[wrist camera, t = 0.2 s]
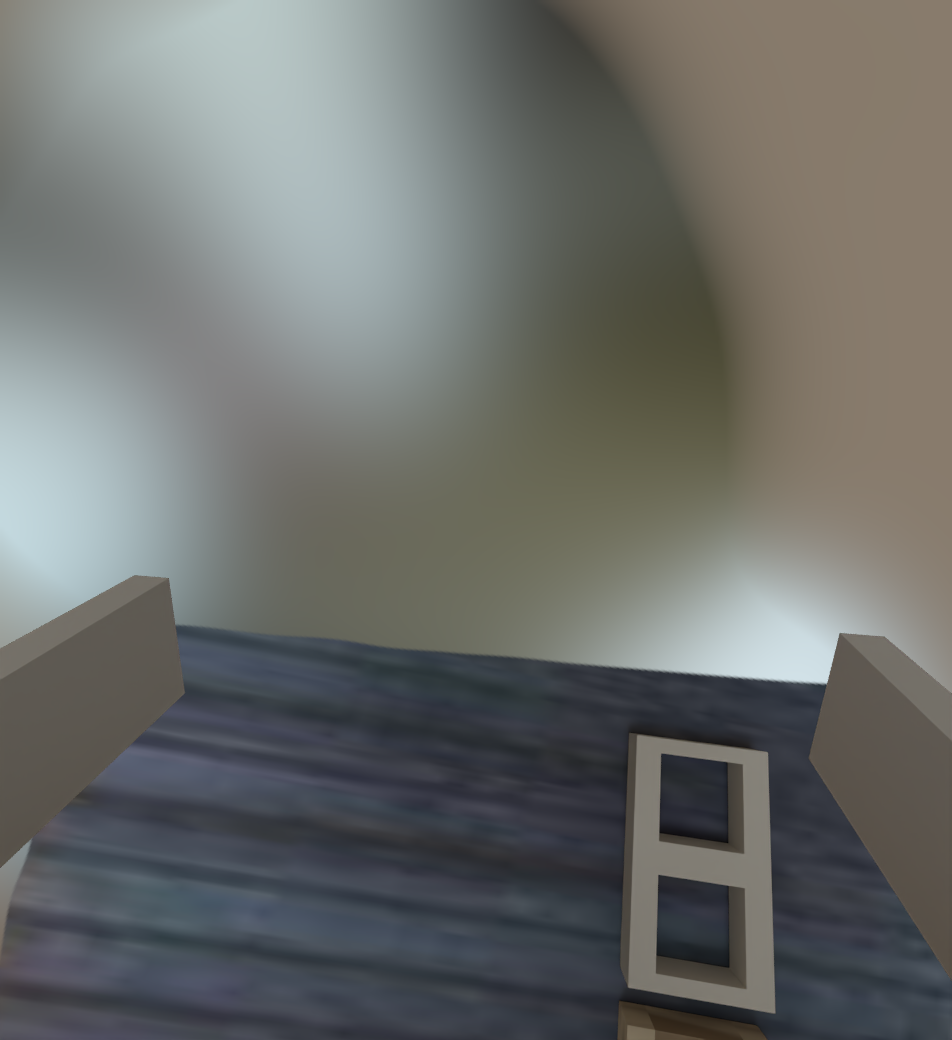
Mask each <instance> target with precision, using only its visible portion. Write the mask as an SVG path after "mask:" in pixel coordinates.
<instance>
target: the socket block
mask: <svg viewBox="0 0 952 1040" xmlns="http://www.w3.org/2000/svg"><path fill="white" fill-rule="evenodd" d="M618 1040H767V1038H766V1037H765V1036H764V1034H763V1033H762V1032H761V1030H760V1029H759V1027H758V1026H757V1025H751V1024H746V1023H740V1022H734V1021H729V1020H723V1019H718V1018H712V1017H707V1016H701V1015H696V1014H690V1013H685V1012H679V1011H673V1010H668V1009H662V1008H657V1007H651V1006H646V1005H640V1004H635V1003H629V1002H624V1001H619V1015H618Z"/></svg>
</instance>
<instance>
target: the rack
mask: <svg viewBox="0 0 952 1040" xmlns="http://www.w3.org/2000/svg"><path fill="white" fill-rule="evenodd" d="M661 753H663V754H671V755H678V756H685V757H693V758H700V759H707V760H715V761H722V762H728V843H723V842H716V841H710V840H703V839H696V838H689V837H683V836H676V835H669V834H663V833H659V818H660V776H661ZM658 875H664V876H670V877H677V878H683V879H689V880H696V881H702V882H708V883H715V884H721V885H728V886H729V968H727V967H721V966H715V965H709V964H703V963H697V962H692V961H686V960H680V959H674V958H668V957H662V956H657V955H656V945H657V903H658ZM620 968H621V971H622V973H623V976H624V978H625V981H626V983H627V986H628V988H633V989H639V990H645V991H650V992H656V993H662V994H667V995H673V996H678V997H684V998H690V999H695V1000H701V1001H707V1002H712V1003H718V1004H723V1005H729V1006H735V1007H740V1008H746V1009H752V1010H757V1011H763V1012H768V1013H774V1014H775V984H774V949H773V915H772V880H771V845H770V810H769V775H768V752H764V751H759V750H754V749H748V748H741V747H733V746H726V745H718V744H711V743H703V742H695V741H688V740H680V739H673V738H665V737H658V736H650V735H643V734H635V733H629V749H628V774H627V800H626V825H625V850H624V875H623V900H622V925H621V951H620Z"/></svg>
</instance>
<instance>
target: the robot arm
mask: <svg viewBox="0 0 952 1040" xmlns="http://www.w3.org/2000/svg"><path fill="white" fill-rule="evenodd" d="M173 613H174V612H173V606H172V598H171V591H170V584H169V578H161V577H148V576H137V575H135V576H132V577H131V578H129V579H127V580H125V581H123V582H121V583H120V584H118V585H116V586H114V587H112V588H110V589H109V590H107V591H105V592H103V593H101V594H99V595H98V596H96V597H94V598H92V599H90V600H88V601H87V602H85V603H83V604H81V605H79V606H78V607H76V608H74V609H72V610H70V611H68V612H66V613H65V614H63V615H61V616H59V617H57V618H55V619H54V620H52V621H50V622H48V623H46V624H44V625H43V626H41V627H39V628H38V629H36V630H33V631H32V632H30V633H28V634H26V635H24V636H23V637H21V638H19V639H17V640H15V641H13V642H11V643H10V644H8V645H6V646H4V647H2V648H1V649H0V868H1V867H2V866H3V865H4V864H5V863H6V862H7V861H8V860H9V859H10V858H11V857H12V856H13V855H14V854H16V852H17V851H19V850H20V849H21V848H22V847H23V845H25V844H26V843H27V842H28V841H29V840H30V839H31V838H32V837H33V836H35V835H36V834H37V833H38V832H39V831H40V830H41V829H42V828H43V827H44V826H45V825H46V824H47V823H48V822H49V821H50V820H51V819H52V818H53V817H55V816H56V815H57V814H58V813H59V812H60V811H61V810H62V809H63V808H64V807H65V806H66V805H67V804H68V803H69V802H70V801H71V800H72V799H74V798H75V797H76V796H77V795H78V794H79V793H80V792H81V791H82V790H83V789H84V788H85V787H86V786H87V785H88V784H89V783H90V782H91V781H93V780H94V779H95V778H96V777H97V776H98V775H99V774H100V773H101V772H102V771H103V770H104V769H105V768H106V767H107V766H108V765H109V764H110V763H112V762H113V761H114V760H115V759H116V758H117V757H118V756H119V755H120V754H121V753H122V752H123V751H124V750H125V749H126V748H127V747H128V746H129V745H131V744H132V743H133V742H134V741H135V740H136V739H137V738H138V737H139V736H140V735H141V734H142V733H143V732H144V731H145V730H146V729H147V728H148V727H150V726H151V725H152V724H153V723H154V722H155V721H156V720H157V719H158V718H159V717H160V716H161V715H162V714H163V713H164V712H165V711H166V710H167V709H168V708H170V707H171V706H172V705H173V704H174V703H175V702H176V701H177V700H178V699H179V698H180V697H181V696H182V695H183V694H184V693H185V692H184V685H183V677H182V670H181V663H180V656H179V649H178V641H177V634H176V627H175V620H174V614H173ZM809 760H810V761H811V763H812V764H813V766H814V767H815V769H816V770H817V772H818V774H819V775H820V777H821V778H822V780H823V781H824V783H825V784H826V786H827V788H828V789H829V791H830V792H831V794H832V795H833V797H834V798H835V800H836V802H837V803H838V805H839V806H840V808H841V809H842V811H843V812H844V814H845V816H846V817H847V819H848V820H849V822H850V823H851V825H852V826H853V828H854V830H855V831H856V833H857V834H858V836H859V837H860V839H861V840H862V842H863V844H864V845H865V847H866V848H867V850H868V851H869V853H870V854H871V856H872V858H873V859H874V861H875V862H876V864H877V865H878V867H879V868H880V870H881V872H882V873H883V875H884V876H885V878H886V879H887V881H888V882H889V884H890V886H891V887H892V889H893V890H894V892H895V893H896V895H897V896H898V898H899V900H900V901H901V903H902V904H903V906H904V907H905V909H906V910H907V912H908V914H909V915H910V917H911V918H912V920H913V921H914V923H915V925H916V926H917V928H918V929H919V931H920V932H921V934H922V935H923V937H924V939H925V940H926V942H927V943H928V945H929V946H930V948H931V949H932V951H933V953H934V954H935V956H936V957H937V959H938V960H939V962H940V963H941V965H942V967H943V968H944V970H945V971H946V973H947V974H948V976H949V977H950V979H951V981H952V693H950V692H949V691H948V690H947V689H946V688H944V687H943V686H942V685H941V684H940V683H939V682H937V681H936V680H935V679H934V678H933V677H931V676H930V675H929V674H928V673H927V672H925V671H924V670H923V669H922V668H920V666H918V665H917V664H916V663H915V662H914V661H913V660H911V659H910V658H909V657H908V656H906V654H904V653H903V652H902V651H901V650H899V649H898V648H897V647H896V646H895V645H894V644H892V643H891V642H890V641H889V640H888V639H887V638H885V637H881V636H869V635H856V634H844V633H840V634H839V638H838V643H837V647H836V651H835V655H834V659H833V663H832V667H831V671H830V675H829V679H828V683H827V687H826V691H825V695H824V699H823V703H822V707H821V711H820V715H819V719H818V723H817V727H816V731H815V735H814V739H813V743H812V747H811V751H810V755H809Z"/></svg>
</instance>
